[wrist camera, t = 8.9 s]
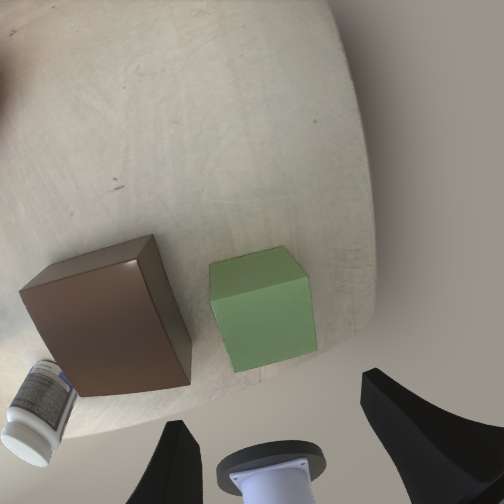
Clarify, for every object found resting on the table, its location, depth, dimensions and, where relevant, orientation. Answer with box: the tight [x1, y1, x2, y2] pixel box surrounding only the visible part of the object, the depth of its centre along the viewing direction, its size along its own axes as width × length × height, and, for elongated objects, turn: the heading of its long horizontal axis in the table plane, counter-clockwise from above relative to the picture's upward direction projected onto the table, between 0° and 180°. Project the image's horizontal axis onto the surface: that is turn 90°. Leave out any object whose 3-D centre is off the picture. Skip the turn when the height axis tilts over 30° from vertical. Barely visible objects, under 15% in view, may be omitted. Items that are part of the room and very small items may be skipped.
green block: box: [209, 246, 317, 373], centre depth 16 cm, size 5×5×5 cm
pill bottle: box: [1, 361, 78, 467], centre depth 14 cm, size 5×5×8 cm
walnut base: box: [19, 235, 192, 397], centre depth 15 cm, size 8×8×4 cm
